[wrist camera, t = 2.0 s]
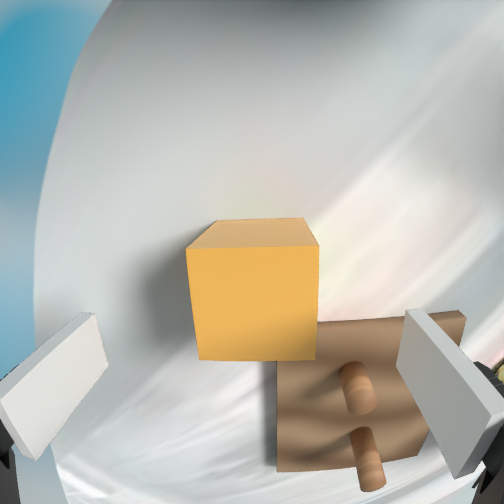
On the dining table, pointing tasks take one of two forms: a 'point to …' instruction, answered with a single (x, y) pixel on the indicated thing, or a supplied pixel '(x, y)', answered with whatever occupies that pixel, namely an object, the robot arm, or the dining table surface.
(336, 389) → the board
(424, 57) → the dining table surface
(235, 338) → the mustard yellow box
